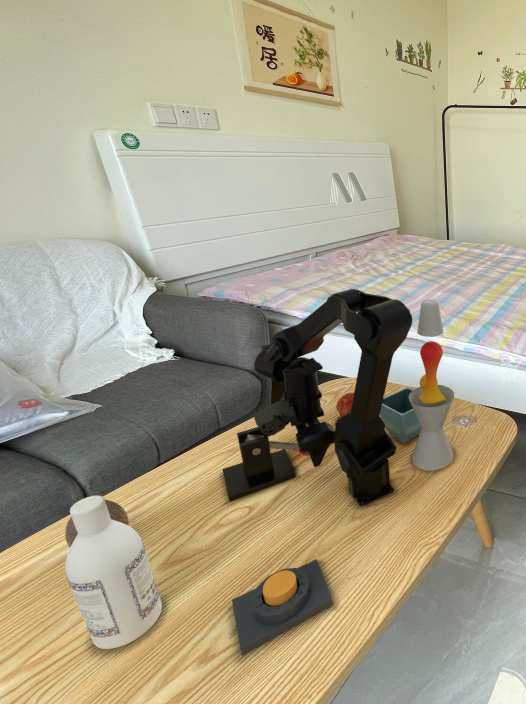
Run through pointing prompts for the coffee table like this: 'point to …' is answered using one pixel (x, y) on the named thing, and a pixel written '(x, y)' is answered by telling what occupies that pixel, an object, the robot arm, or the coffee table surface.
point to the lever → (277, 444)
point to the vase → (115, 514)
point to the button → (280, 588)
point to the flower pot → (400, 416)
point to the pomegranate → (345, 404)
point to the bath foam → (110, 576)
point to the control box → (280, 608)
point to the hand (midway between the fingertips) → (311, 454)
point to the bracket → (257, 467)
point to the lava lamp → (431, 396)
